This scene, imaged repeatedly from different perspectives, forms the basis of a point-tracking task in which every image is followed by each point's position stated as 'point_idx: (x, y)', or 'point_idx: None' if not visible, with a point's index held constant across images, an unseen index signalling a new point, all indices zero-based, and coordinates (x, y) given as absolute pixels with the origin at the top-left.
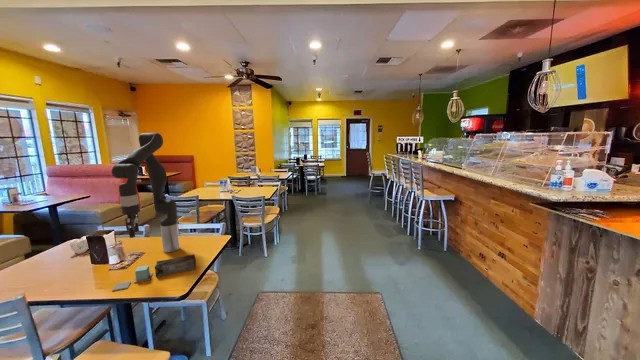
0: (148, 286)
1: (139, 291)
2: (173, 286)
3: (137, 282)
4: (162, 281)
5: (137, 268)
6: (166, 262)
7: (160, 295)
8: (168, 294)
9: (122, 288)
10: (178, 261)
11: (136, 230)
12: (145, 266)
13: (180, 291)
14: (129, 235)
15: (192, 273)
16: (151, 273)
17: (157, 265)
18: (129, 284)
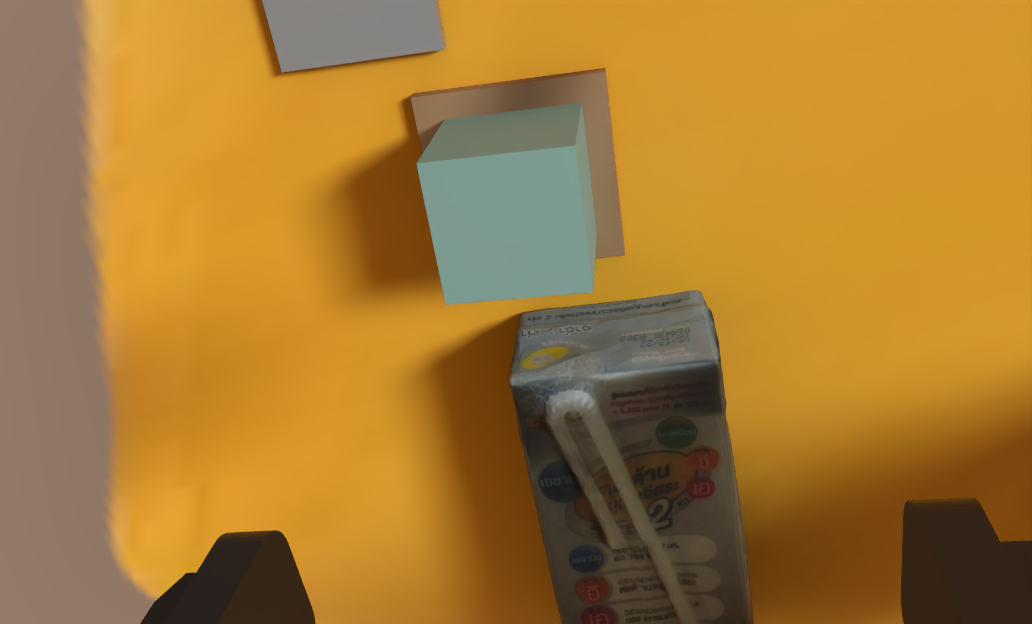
0: (303, 292)
1: (205, 234)
2: (267, 511)
3: (424, 136)
4: (392, 400)
5: (521, 161)
6: (588, 501)
7: (116, 442)
8: (129, 498)
9: (267, 15)
10: (575, 615)
11: (922, 607)
12: (563, 258)
13: (172, 572)
14: (191, 588)
15: (504, 620)
16: (614, 246)
17: (539, 409)
18: (378, 57)
